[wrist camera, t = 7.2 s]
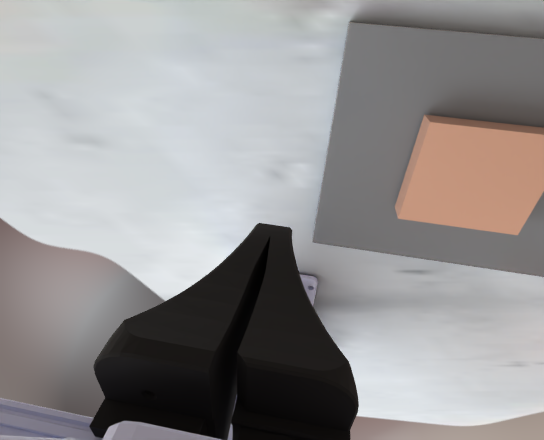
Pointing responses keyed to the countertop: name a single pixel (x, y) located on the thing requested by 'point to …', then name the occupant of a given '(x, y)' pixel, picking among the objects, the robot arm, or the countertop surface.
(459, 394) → the countertop surface
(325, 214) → the slate board
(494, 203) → the tile
